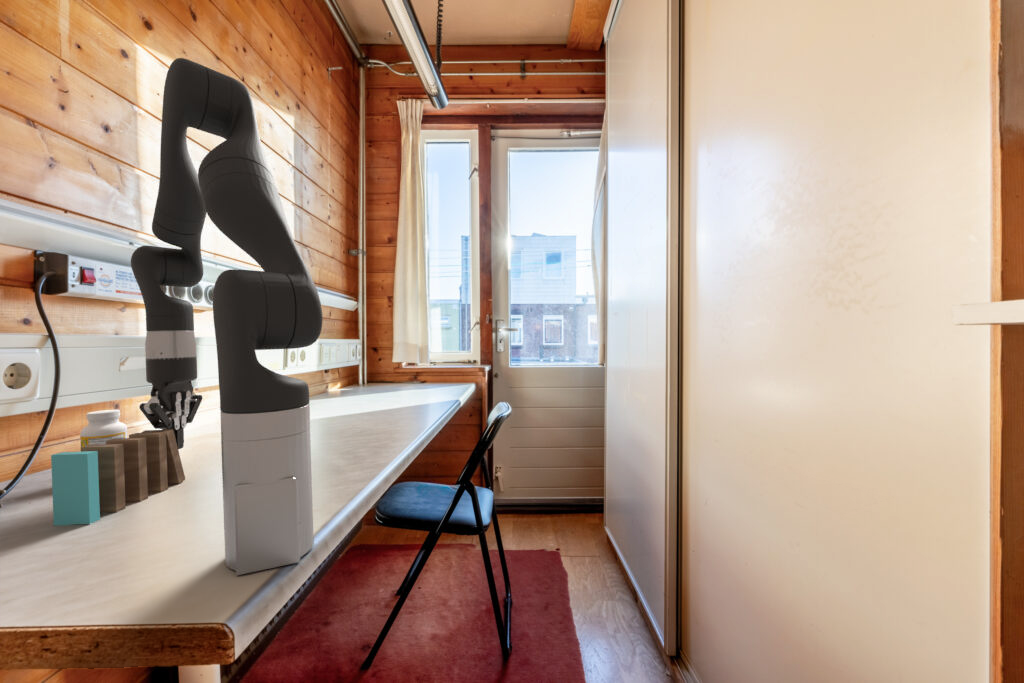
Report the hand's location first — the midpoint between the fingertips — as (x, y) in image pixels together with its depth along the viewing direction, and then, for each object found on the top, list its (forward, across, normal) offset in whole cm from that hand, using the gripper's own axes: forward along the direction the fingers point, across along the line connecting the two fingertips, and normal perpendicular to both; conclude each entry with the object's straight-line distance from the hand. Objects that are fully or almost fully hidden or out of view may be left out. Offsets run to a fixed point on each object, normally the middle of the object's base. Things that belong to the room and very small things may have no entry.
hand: (174, 449), depth 83 cm
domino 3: (+6, -10, 0) cm, 12 cm away
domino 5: (+6, -1, 0) cm, 6 cm away
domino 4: (+6, -6, 0) cm, 8 cm away
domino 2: (+6, -14, 0) cm, 16 cm away
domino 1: (+6, -19, 0) cm, 20 cm away
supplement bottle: (+6, +3, +15) cm, 17 cm away
